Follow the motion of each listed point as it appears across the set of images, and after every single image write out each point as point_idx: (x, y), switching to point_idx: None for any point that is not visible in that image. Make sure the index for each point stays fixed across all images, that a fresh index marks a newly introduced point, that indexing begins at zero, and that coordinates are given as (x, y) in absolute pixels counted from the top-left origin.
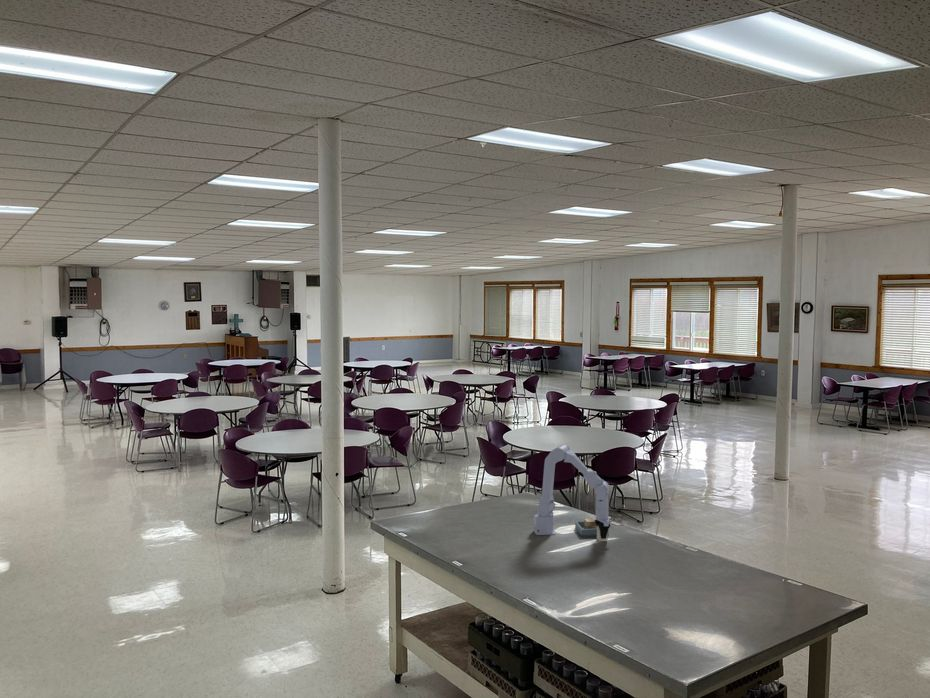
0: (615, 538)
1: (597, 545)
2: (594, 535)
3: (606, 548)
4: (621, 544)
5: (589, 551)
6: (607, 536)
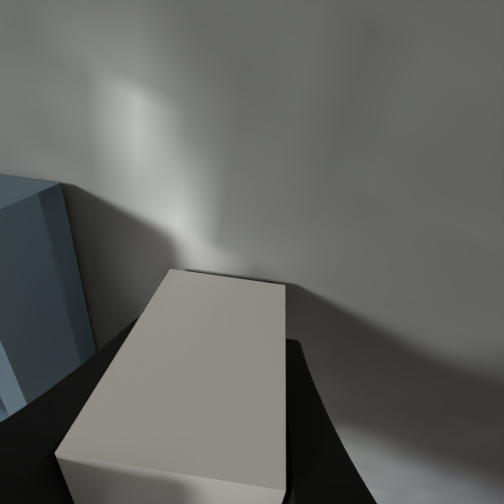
0: (151, 102)
1: (358, 400)
2: (85, 347)
3: (489, 369)
4: (466, 126)
5: (469, 488)
6: (284, 331)
